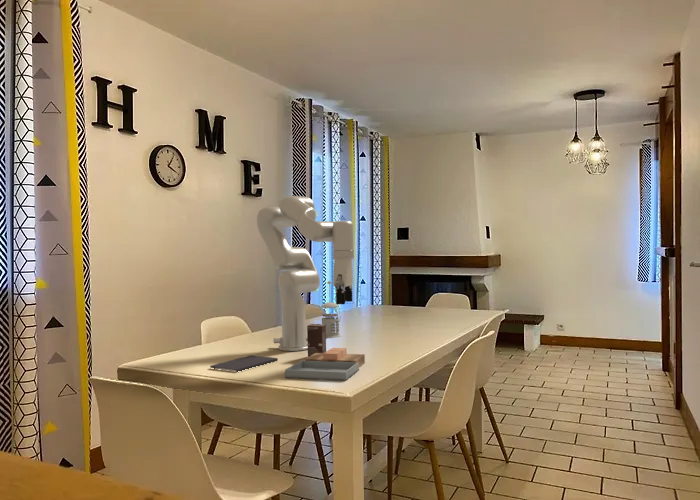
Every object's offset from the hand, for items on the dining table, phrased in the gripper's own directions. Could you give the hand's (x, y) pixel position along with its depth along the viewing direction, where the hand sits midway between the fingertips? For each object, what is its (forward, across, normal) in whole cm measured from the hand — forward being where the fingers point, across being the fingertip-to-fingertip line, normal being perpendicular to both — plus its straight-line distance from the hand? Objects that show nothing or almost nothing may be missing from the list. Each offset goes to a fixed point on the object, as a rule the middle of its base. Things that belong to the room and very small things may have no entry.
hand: (344, 302), depth 204 cm
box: (+20, -1, -11) cm, 23 cm away
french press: (+21, -49, -21) cm, 57 cm away
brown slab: (+20, +12, 0) cm, 23 cm away
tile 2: (+17, +9, 0) cm, 19 cm away
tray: (+20, +25, 0) cm, 32 cm away
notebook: (+21, +16, -32) cm, 42 cm away
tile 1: (+17, +14, 0) cm, 22 cm away
